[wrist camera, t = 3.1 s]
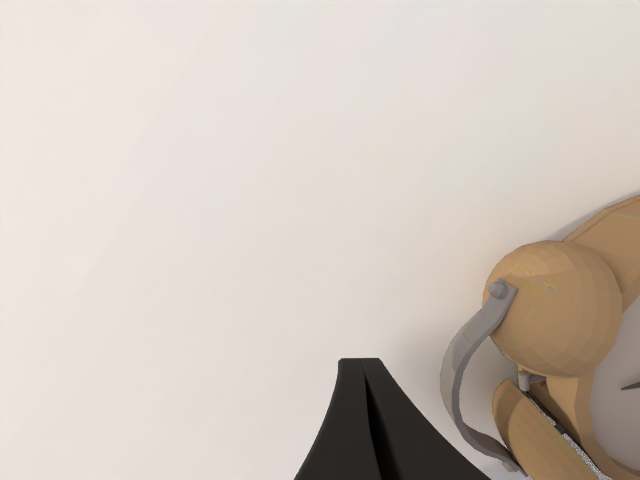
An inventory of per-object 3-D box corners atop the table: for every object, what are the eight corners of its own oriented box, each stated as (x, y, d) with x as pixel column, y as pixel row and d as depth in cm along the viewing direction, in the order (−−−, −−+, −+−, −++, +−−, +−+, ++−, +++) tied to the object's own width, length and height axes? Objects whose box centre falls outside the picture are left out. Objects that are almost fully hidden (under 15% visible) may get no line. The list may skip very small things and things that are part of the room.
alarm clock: (864, 452, 12) (513, 601, 11) (698, 372, 17) (436, 467, 15) (953, 156, 9) (485, 298, 8) (722, 157, 14) (400, 246, 12)
